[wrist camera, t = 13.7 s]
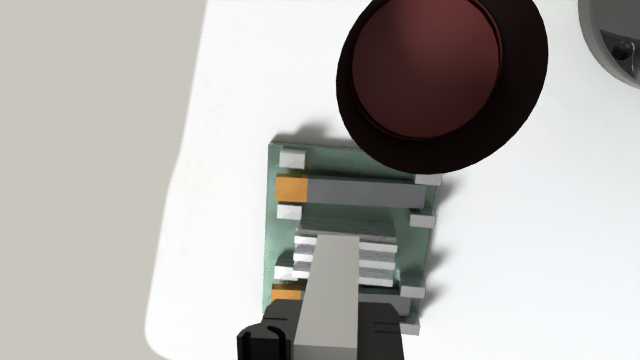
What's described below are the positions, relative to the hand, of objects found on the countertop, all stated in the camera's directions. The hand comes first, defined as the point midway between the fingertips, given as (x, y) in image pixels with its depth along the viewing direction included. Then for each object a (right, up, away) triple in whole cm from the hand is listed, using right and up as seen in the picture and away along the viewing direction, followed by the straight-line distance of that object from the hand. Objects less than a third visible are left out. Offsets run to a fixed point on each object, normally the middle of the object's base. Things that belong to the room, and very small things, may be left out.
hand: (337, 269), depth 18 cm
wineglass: (+6, +13, +21) cm, 26 cm away
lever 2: (+1, -7, +26) cm, 27 cm away
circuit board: (+2, -2, +26) cm, 26 cm away
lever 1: (+2, +3, +23) cm, 23 cm away
